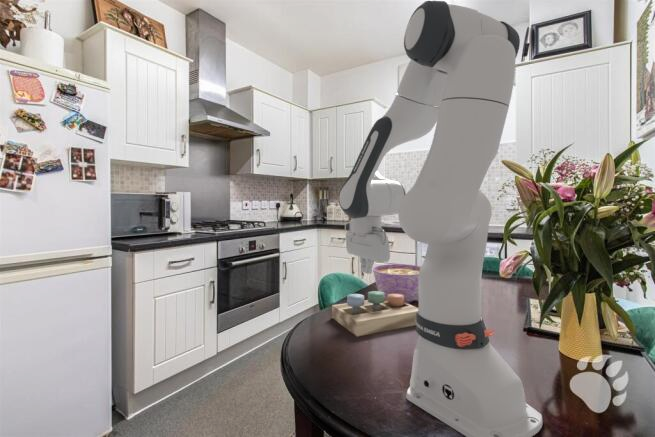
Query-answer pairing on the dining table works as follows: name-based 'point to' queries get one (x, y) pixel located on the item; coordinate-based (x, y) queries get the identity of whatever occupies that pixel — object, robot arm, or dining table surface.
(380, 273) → the bowl of food
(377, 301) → the button green
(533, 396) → the dining table surface
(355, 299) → the button slate
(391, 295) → the button terracotta
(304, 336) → the dining table surface
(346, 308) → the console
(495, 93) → the robot arm
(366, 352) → the dining table surface
